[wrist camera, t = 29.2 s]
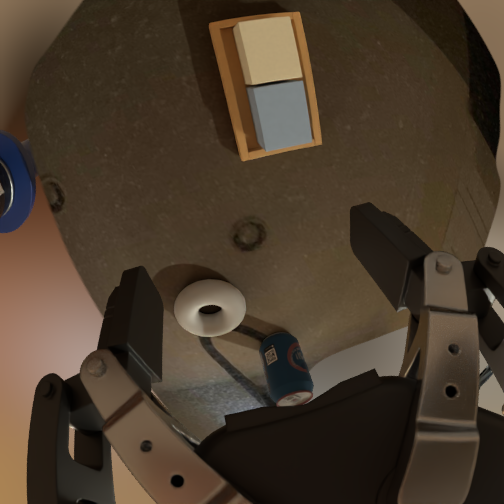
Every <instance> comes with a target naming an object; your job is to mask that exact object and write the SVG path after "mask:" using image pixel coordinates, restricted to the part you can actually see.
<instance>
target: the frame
mask: <svg viewBox="0 0 504 504" xmlns="http://www.w3.org/2000/svg"><path fill="white" fill-rule="evenodd" d="M286 16H289V17H290V20H291V24H292V28H293V33H294V37H295V42H296V47H297V51H298V56H299V61H300V67H301V72H302V77H299V78H291V79H284V80H277V81H271V82H265V83H260V84H266V83H272V82H278V81H285V80H302V81H303V84H304V90H305V96H306V102H307V108H308V115H309V121H310V128H311V136H312V142H311V143H306V144H301V145H296V146H291V147H286V148H281V149H277V150H272V151H268V152H266V151H265V150H264V149H263V148H262V147H261V146H260V145H259V143H258V142H257V138H256V134H255V129H254V124H253V120H252V115H251V110H250V106H249V101H248V97H247V92H246V87H249V86H255V85H260V84H254V85H250V84H245V82H244V78H243V74H242V69H241V65H240V61H239V56H238V52H237V48H236V44H235V40H234V36H233V32H232V30H233V28H234V27H235V26H236V24H237V23H238V22H242V21H248V20H256V19H264V18H274V17H286ZM209 31H210V35H211V39H212V43H213V47H214V51H215V55H216V59H217V63H218V67H219V71H220V75H221V80H222V84H223V88H224V92H225V96H226V100H227V105H228V109H229V113H230V117H231V122H232V126H233V130H234V134H235V138H236V143H237V147H238V151H239V156H240V158H241V160H242V161H246V160H250V159H254V158H258V157H263V156H267V155H272V154H276V153H281V152H285V151H290V150H295V149H300V148H305V147H310V146H315V145H321V144H322V139H321V131H320V123H319V115H318V108H317V101H316V95H315V88H314V82H313V76H312V71H311V65H310V60H309V54H308V49H307V44H306V39H305V35H304V30H303V25H302V21H301V17H300V12H292V13H291V12H286V13H273V14H263V15H254V16H246V17H240V18H233V19H228V20H222V21H218V22H212V23H209Z"/></svg>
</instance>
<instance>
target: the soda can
mask: <svg viewBox="0 0 504 504" xmlns="http://www.w3.org/2000/svg"><path fill="white" fill-rule="evenodd" d="M259 353H260V357H261V361H262V365H263V369H264V373H265V377H266V381H267V385H268V388H269V392H270V396H271V398H272V400H273V401H274V402H275V403H276V404H277V406H293V405H303V404H305V403H307V402H308V401H310V400H311V398H312V397H313V393H312V391H313V386H314V385H313V382H312V379H311V376H310V373H309V370H308V368H307V365H306V362H305V359H304V357H303V354H302V351H301V348H300V345H299V343H298V340H297V339H296V338H295V337H294V336H292V335H290V334H289V333H286V332H278V333H274V334H271V335H269V336H268V337H266V338H265V339H264V340H263V342H262V344H261V346H260V350H259Z"/></svg>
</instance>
